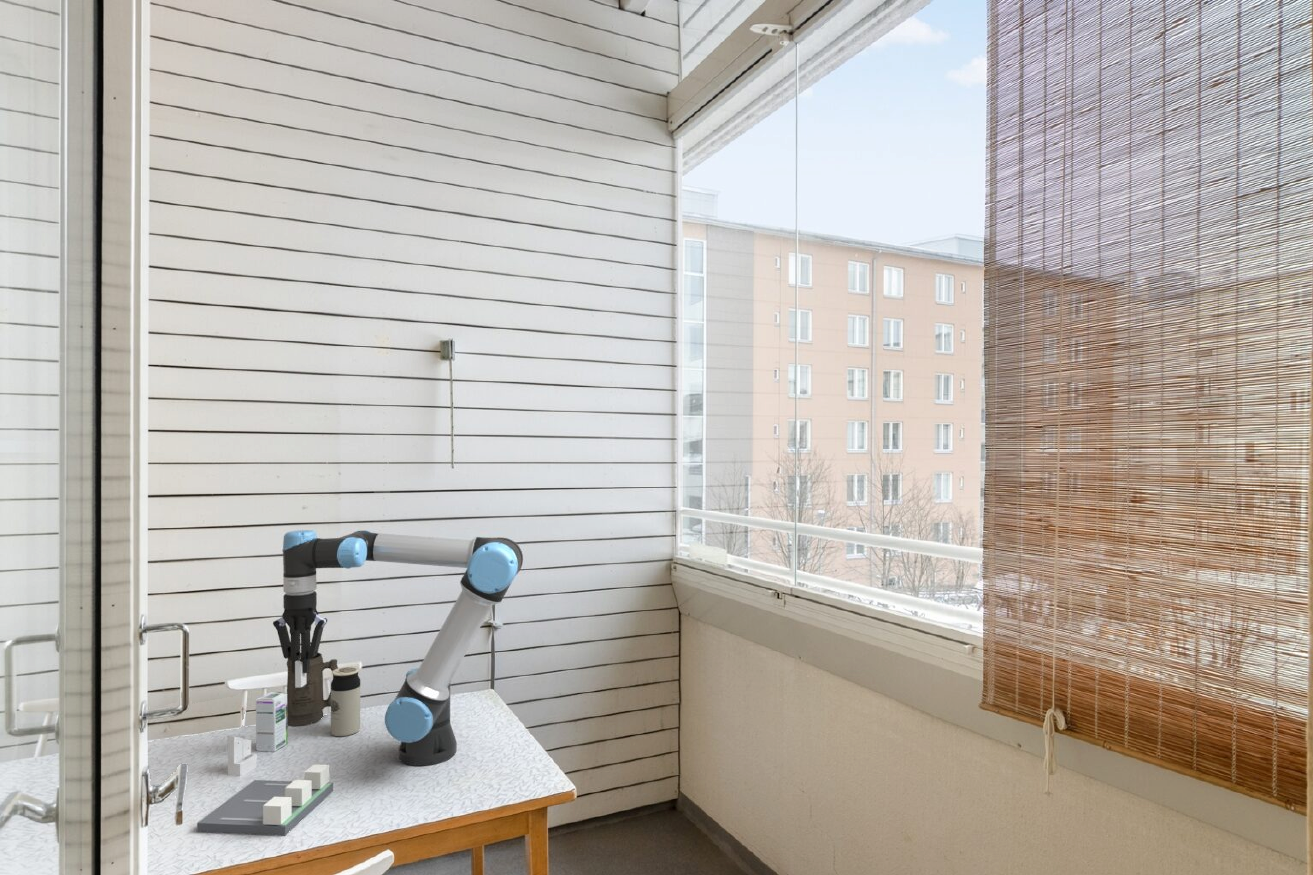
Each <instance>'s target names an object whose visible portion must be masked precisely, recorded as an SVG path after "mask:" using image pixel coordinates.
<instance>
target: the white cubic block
mask: <svg viewBox="0 0 1313 875" xmlns="http://www.w3.org/2000/svg"><path fill="white" fill-rule="evenodd" d="M292 781H293V782H292V783H291V784H289V785H288V786H287V787H286V788H285V797H292V806H303V805H304V804H305V803H306V802H307V801H308V800H309V799H311V798H312V780H304V779H294V780H292Z"/></svg>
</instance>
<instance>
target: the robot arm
mask: <svg viewBox="0 0 1313 875" xmlns="http://www.w3.org/2000/svg"><path fill="white" fill-rule="evenodd" d="M281 551H282V565H283V567H282V568H283V574H282V575H283V593H284V594H283V613H282V615H281V617H280V618H277V619H275V621H274V620H273V622H272V625H273V627H274V628H275V629H276V632H277V635H278V640H279V643H280V647H281V648H280V649H281V651H282V656H283V658H284V659H287V660H288V659H290V660H291V661H292V673H295V688H297V687H303V686H304V685H306V684H307V682H306V673H307V672H309V670H310V658H313V657H314V656H316V655H317V654H318V653H319V649H320V648H319V647H320V644H321V639H322V636H323V631H324V628H325V626H326V624H327V623H328V618H327V617H325V618H322V617H321V616H320V615H319V612H318V611H317V606H318V605H317V603H318V602H317V600H318V599H317V595H318V594H317V591H315V590H316V589H318V587H317V569H348V570H349V569H352V568H353V569H354V568H361V567H363V566H364V564H365V562H366V561H368V562H383V563H395V564H397V563H399V564H408V565H424V566H435V567H436V566H437V567H446V568H448V567H449V568H450V567H451V568H460V569H461V568H463V569H466V570H465V572H464V573H463V575H462V577H461V579H460V580H459V584H460V586H461V591H460V594H459V595H458V596H457V599H456V601H455V603H454V604H453V606H452V608H451V610H450V611H449V613H448V614H447V617H446V618H445V620H444V623H443V624H442V626H441V628H440V629H439V631H438V633H437V635H436V637H435V639H434V641H433V642H432V644H431V646H430V648H429V649H428V651H427V653H426V655H425V656H424V659H423V660H422V662H421V663H420V666H419V667H418V668H414V669H410V670H409V671H407V672H406V674H405V678H404V682H403V684H402V685H401V688H400V689H399V691H398V693H397V695H396V696H395V698H394V699H393V700H392V702H390V703H389V705H388V707H387V709H386V711H385V714H384V725H385V728H386V730H387V732H388V733H389V735H390V736H392V738H394V739H395V740H397V741H399V742H400V743H399V746H398V760H399V761H400V762H401V763H403V764H405V765H409V766H419V767H420V766H421V767H422V766H431V765H436V764H440V763H443V762H446V761H448V760H450V759H451V758H452V757H454V756H455V755H456V753H457V747H458V746H457V739H456V736H455V733H454V730H453V727H452V724H451V682H452V679H453V677H454V675H455V674H456V672H457V671H458V669H459V666H460V665H461V663H462V662H463V660H464V657H465V656H466V654H467V653H468V650H469V649H470V647H471V645H472V643H473V641H474V639H475V638H476V636H477V634H478V632H479V630H480V629H481V627H482V625H483V623H484V621H485V619H486V618H487V617H488V616H487V615H488V614H489V612H490V611H491V609H492V607H493V606H494V605H497V604H500V603H502V600H503V599H504V597H505V596H506V593H507V592H508V590H509V588H510V586H511V584H512V583H513V581H514V579H515V578H516V576H517V575H518V574H519V573H520V571H521V569H522V566H523V562H524V555H523V551H522V549H521V547H520V546H519V544H517V542H516V541H514V540H512V539H509V538H507V537H485V536H484V537H480V536H475V537H474V538H473V539H472V540H470V539H458V538H444V537H434V536H433V537H431V536H418V535H417V536H416V535H408V534H407V535H404V534H391V533H378V532H372V531H371V530H362V529H361V530H357V531H354V532H352V533H349V534H346V535H343V536H340V537H332V538H331V537H330V538H323V537H322V538H319V537H318V538H317V532H316V531H315V530H313V529H311V530H308V529H300V530H292V531H288V532H286V533H285V534H284V536H283V542H282V550H281ZM286 624H287V625H286ZM313 624H314V625H315V626H314V629H313V634H312V638H311V631H312V625H313ZM287 626H288V627H289V631H288V627H287ZM300 653H301V655H300ZM300 657H301V658H300ZM299 658H300V659H299Z"/></svg>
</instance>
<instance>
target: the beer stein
mask: <svg viewBox="0 0 1313 875" xmlns="http://www.w3.org/2000/svg"><path fill="white" fill-rule="evenodd" d="M300 655H301V652H300ZM300 658H301V657H300ZM300 658H299V659H300ZM286 666H287V682H286V693H287V721H288V726H289V727H290V726H292V727H302V726H307V725H313V724H315V723H317V722H320V721H322V719H323V718H324V716H325V714H324V709H325V708H328V707H330V708H331V690H330V692H329V694H328V698H327V699H324V673H323V672H324V670H326V669H329V670H331V672H332V671H333V670H335V669H338V668H339V666H338V659H336V658H335V659H334V658H332V659H330V660H329V661H326V662H325V661H324V659H323V654H322V653H321V652H318V654H317V655H316V656H314V657H313V658H310V670H309V672H307V673H306V682H307V684H306V685H304V686H303V687H297V688H295V673H292V661H291V660H290V659H288V658H287V661H286ZM322 717H323V718H322ZM321 718H322V719H321Z"/></svg>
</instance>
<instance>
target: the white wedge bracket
mask: <svg viewBox="0 0 1313 875" xmlns="http://www.w3.org/2000/svg"><path fill="white" fill-rule="evenodd" d="M255 766H257V767H258V754H255V753H252V740H251V739H248V738H242V737H239V736H233V735H228V736H227V775H228V776H235V777H242V776H243V775H245V774H247V773H249V772H250V771H252V770H253V768H254V767H255ZM255 768H256V767H255ZM255 768H254V769H255ZM251 769H252V770H251ZM246 772H247V773H246ZM244 773H245V774H244Z"/></svg>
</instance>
